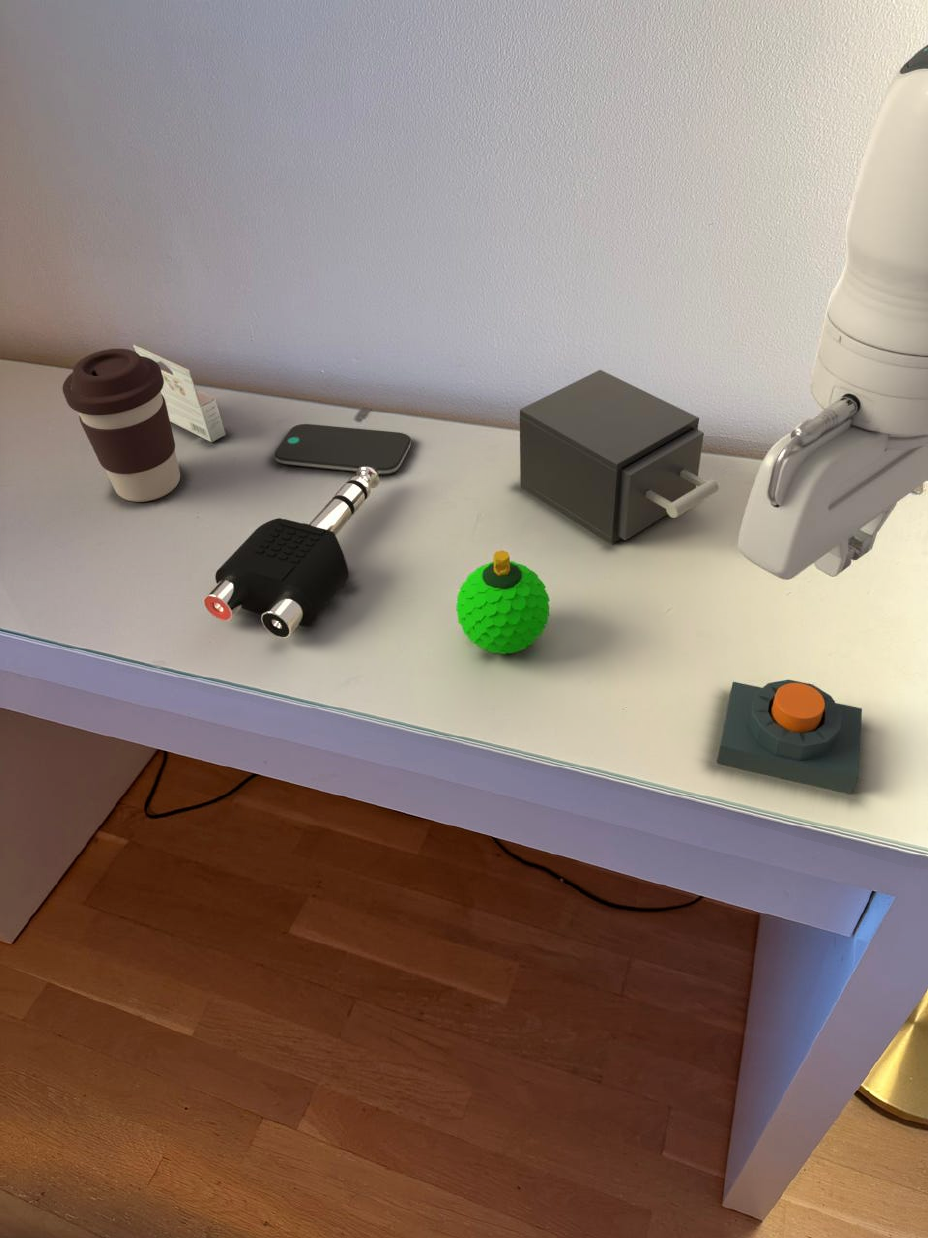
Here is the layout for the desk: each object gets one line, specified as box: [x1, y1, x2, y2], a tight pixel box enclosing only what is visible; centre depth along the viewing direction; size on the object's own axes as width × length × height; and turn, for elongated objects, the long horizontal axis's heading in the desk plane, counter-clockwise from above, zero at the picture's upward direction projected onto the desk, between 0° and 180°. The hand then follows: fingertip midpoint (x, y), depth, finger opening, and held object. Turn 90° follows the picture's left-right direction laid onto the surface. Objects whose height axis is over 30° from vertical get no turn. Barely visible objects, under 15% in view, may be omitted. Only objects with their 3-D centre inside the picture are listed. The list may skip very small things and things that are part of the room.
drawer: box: [616, 428, 720, 541], centre depth 94 cm, size 17×10×8 cm, turn 40°
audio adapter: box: [203, 466, 380, 639], centre depth 92 cm, size 11×5×25 cm
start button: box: [771, 683, 825, 733], centre depth 71 cm, size 4×4×2 cm
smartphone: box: [274, 423, 412, 475], centre depth 107 cm, size 8×1×15 cm
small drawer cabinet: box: [519, 369, 700, 545], centre depth 96 cm, size 14×12×10 cm
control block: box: [716, 679, 863, 795], centre depth 72 cm, size 10×7×4 cm
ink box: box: [132, 344, 226, 443], centre depth 110 cm, size 2×11×10 cm, turn 50°
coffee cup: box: [61, 348, 181, 503], centre depth 100 cm, size 10×10×15 cm
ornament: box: [455, 549, 551, 655], centre depth 80 cm, size 8×8×10 cm
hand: (841, 559), depth 61 cm, fingers closed
